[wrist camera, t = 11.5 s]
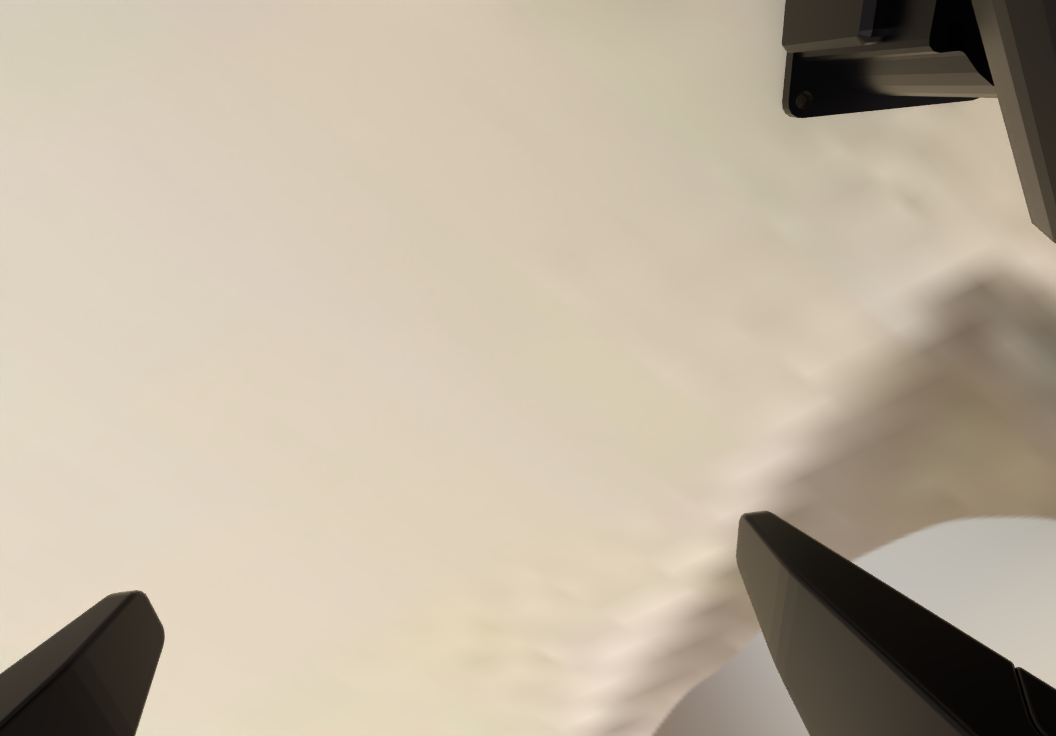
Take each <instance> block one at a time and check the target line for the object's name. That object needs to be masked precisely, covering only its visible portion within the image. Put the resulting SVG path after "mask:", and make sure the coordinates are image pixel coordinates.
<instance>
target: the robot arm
mask: <svg viewBox="0 0 1056 736" xmlns="http://www.w3.org/2000/svg"><path fill="white" fill-rule="evenodd" d="M782 46H783V47H784V48H785V50H786V51H787V57H786V67H785V78H784V89H783V99H782V105H783V110H784V111H785V113H786V114H787V115H788V116H790V117H797V118H807V117H817V116H826V115H836V114H845V113H855V112H864V111H874V110H884V109H893V108H903V107H912V106H922V105H931V104H941V103H951V102H960V101H970V100H974V99H978V98H979V97H983V98H998V100H999V104H1000V108H1001V111H1002V115H1003V119H1004V123H1005V126H1006V130H1007V134H1008V137H1009V141H1010V145H1011V148H1012V152H1013V156H1014V159H1015V163H1016V167H1017V170H1018V174H1019V178H1020V181H1021V185H1022V189H1023V192H1024V196H1025V200H1026V204H1027V207H1028V211H1029V215H1030V218H1031V222H1032V223H1033V224H1034V225H1035V226H1036V227H1037V228H1038V229H1039V230H1041V231H1042V232H1043V233H1044V234H1045V235H1046V236H1047V237H1048V238H1050V239H1051V240H1052V241H1053V242H1054V243H1056V0H786V4H785V15H784V26H783V37H782ZM802 92H803V93H804V94H805V97H806V100H805V103H804V105H803V106H802V107H801V108H798V107H797V105H796V100H797V97H798V96H799V94H800V93H802ZM736 558H737V564H738V568H739V571H740V574H741V577H742V579H743V582H744V585H745V587H746V590H747V593H748V595H749V598H750V601H751V603H752V606H753V608H754V611H755V614H756V616H757V619H758V622H759V624H760V627H761V630H762V632H763V635H764V638H765V640H766V643H767V646H768V648H769V651H770V653H771V656H772V658H773V661H774V663H775V666H776V668H777V670H778V672H779V674H780V676H781V678H782V681H783V683H784V685H785V687H786V689H787V690H788V693H789V695H790V697H791V699H792V701H793V702H794V705H795V706H796V709H797V710H798V712H799V715H800V717H801V719H802V720H803V723H804V725H805V727H806V729H807V731H808V732H809V735H810V736H1056V689H1055V688H1053V687H1051V686H1050V685H1048V684H1047V683H1045V682H1043V681H1042V680H1040V679H1039V678H1037V677H1035V676H1034V675H1032V674H1031V673H1029V672H1027V671H1026V670H1024V669H1022V668H1020V667H1016V668H1015V667H1014V664H1013V663H1012V662H1011V661H1009V660H1008V659H1006V658H1005V657H1003V656H1001V655H1000V654H998V653H996V652H995V651H993V650H991V649H990V648H988V647H987V646H985V645H983V644H982V643H980V642H979V641H977V640H976V639H974V638H972V637H971V636H969V635H967V634H966V633H964V632H963V631H961V630H960V629H958V628H956V627H955V626H953V625H952V624H950V623H948V622H947V621H945V620H944V619H942V618H940V617H938V616H937V615H935V614H934V613H932V612H931V611H929V610H927V609H926V608H924V607H923V606H921V605H919V604H918V603H916V602H915V601H913V600H911V599H909V598H908V597H907V596H905V595H903V594H902V593H900V592H899V591H896V590H895V589H894V588H892V587H890V586H889V585H887V584H886V583H884V582H882V581H881V580H879V579H878V578H876V577H874V576H873V575H871V574H869V573H868V572H866V571H865V570H863V569H862V568H860V567H858V566H857V565H855V564H854V563H852V562H850V561H849V560H847V559H846V558H844V557H842V556H841V555H839V554H838V553H836V552H834V551H833V550H831V549H830V548H828V547H826V546H825V545H823V544H821V543H820V542H818V541H817V540H815V539H813V538H812V537H810V536H809V535H807V534H805V533H804V532H802V531H801V530H799V529H797V528H796V527H794V526H793V525H791V524H789V523H788V522H786V521H785V520H783V519H781V518H780V517H778V516H777V515H775V514H773V513H771V512H769V511H759V512H751V513H745V514H743V515H742V516H741V518H740V520H739V529H738V540H737V551H736ZM164 638H165V635H164V628H163V626H162V624H161V622H160V620H159V618H158V616H157V614H156V612H155V610H154V608H153V606H152V604H151V603H150V601H149V599H148V597H147V595H146V594H145V593H143V592H142V591H138V590H135V591H127V592H119V593H114V594H111V595H108V596H107V597H105V598H104V599H102V600H101V601H100V602H98V603H97V604H96V605H94V606H93V607H91V608H90V609H89V610H87V611H86V612H85V613H83V614H82V615H80V616H79V617H78V618H76V619H75V620H74V621H72V622H71V623H69V624H68V625H67V626H65V627H64V628H63V629H61V630H60V631H59V632H57V633H56V634H54V635H53V636H52V637H50V638H49V639H48V640H46V641H45V642H43V643H42V644H41V645H39V646H38V647H37V648H35V649H34V650H33V651H31V652H30V653H28V654H27V655H26V656H24V657H23V658H22V659H20V660H19V661H17V662H16V663H15V664H13V665H12V666H11V667H9V668H8V669H7V670H5V671H4V672H2V673H1V674H0V736H135V734H136V731H137V728H138V725H139V722H140V718H141V715H142V712H143V709H144V706H145V702H146V699H147V696H148V693H149V690H150V687H151V683H152V680H153V677H154V674H155V671H156V668H157V664H158V661H159V658H160V655H161V652H162V648H163V645H164Z"/></svg>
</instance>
